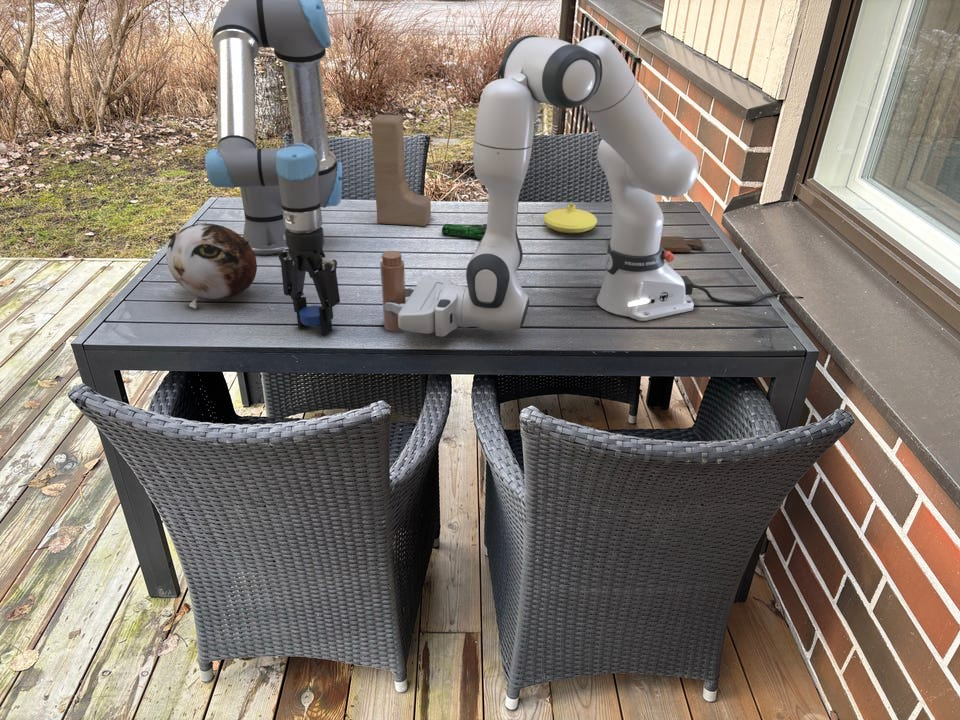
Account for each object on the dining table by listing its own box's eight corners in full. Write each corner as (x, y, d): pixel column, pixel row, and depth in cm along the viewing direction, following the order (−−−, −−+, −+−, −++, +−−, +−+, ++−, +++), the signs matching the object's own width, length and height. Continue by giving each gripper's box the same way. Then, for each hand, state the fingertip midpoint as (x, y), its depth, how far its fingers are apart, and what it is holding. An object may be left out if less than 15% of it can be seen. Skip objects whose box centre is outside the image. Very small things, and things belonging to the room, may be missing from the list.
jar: (382, 322, 159) (377, 251, 150) (404, 319, 160) (400, 248, 152) (386, 332, 155) (382, 260, 146) (409, 329, 156) (406, 257, 148)
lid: (324, 326, 152) (323, 317, 151) (297, 325, 152) (296, 316, 151) (330, 314, 157) (329, 305, 156) (304, 313, 157) (303, 304, 156)
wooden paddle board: (706, 254, 196) (698, 241, 204) (708, 249, 195) (699, 236, 203) (612, 251, 196) (608, 238, 205) (613, 245, 195) (608, 232, 204)
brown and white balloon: (130, 285, 161) (164, 203, 163) (192, 308, 177) (221, 233, 178) (195, 307, 151) (229, 220, 152) (254, 330, 166) (285, 250, 168)
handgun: (511, 219, 210) (493, 234, 198) (511, 228, 211) (492, 244, 199) (461, 212, 215) (440, 226, 203) (461, 221, 217) (440, 236, 204)
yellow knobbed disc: (559, 216, 220) (561, 193, 217) (605, 227, 212) (608, 204, 209) (532, 230, 209) (533, 207, 206) (580, 242, 201) (582, 218, 198)
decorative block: (426, 226, 211) (423, 122, 195) (376, 223, 212) (370, 119, 197) (431, 218, 217) (429, 116, 202) (383, 215, 219) (377, 114, 203)
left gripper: (255, 225, 145) (270, 326, 156) (329, 241, 137) (339, 346, 149) (279, 214, 150) (292, 313, 162) (352, 229, 143) (360, 332, 155)
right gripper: (463, 272, 159) (403, 266, 161) (440, 313, 142) (374, 306, 144) (463, 298, 162) (404, 292, 165) (441, 340, 145) (376, 333, 147)
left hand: (315, 329), depth 155 cm, fingers closed on lid, 6 cm apart
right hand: (390, 299), depth 154 cm, fingers closed on jar, 5 cm apart
